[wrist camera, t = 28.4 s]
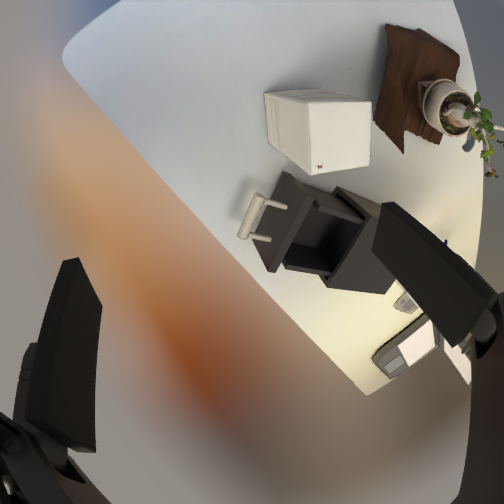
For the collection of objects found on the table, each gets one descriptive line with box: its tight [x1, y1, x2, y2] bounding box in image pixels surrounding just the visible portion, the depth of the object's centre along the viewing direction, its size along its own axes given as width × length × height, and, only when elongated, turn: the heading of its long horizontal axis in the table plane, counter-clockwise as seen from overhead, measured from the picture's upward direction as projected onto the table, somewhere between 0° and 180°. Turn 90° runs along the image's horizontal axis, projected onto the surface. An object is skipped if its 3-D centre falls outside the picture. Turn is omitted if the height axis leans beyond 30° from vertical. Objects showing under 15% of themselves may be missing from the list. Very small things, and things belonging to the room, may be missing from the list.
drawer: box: [237, 172, 365, 276], centre depth 40 cm, size 18×11×8 cm, turn 67°
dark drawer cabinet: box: [319, 187, 396, 294], centre depth 45 cm, size 15×13×10 cm
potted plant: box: [373, 24, 504, 178], centre depth 28 cm, size 20×19×25 cm
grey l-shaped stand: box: [394, 292, 419, 314], centre depth 67 cm, size 13×9×10 cm
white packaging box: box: [264, 89, 372, 175], centre depth 30 cm, size 7×7×13 cm
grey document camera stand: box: [372, 314, 471, 390], centre depth 81 cm, size 38×31×32 cm
